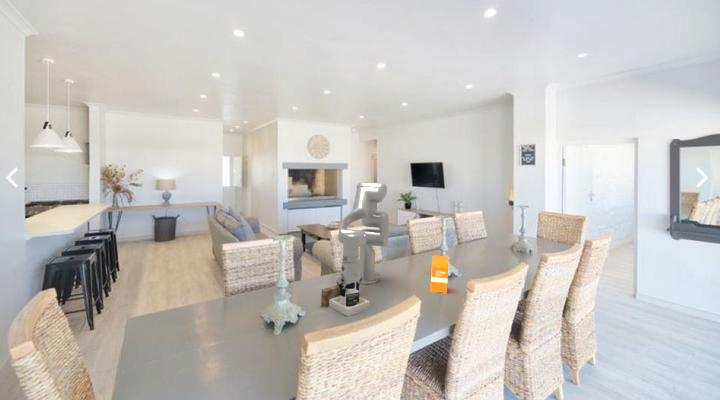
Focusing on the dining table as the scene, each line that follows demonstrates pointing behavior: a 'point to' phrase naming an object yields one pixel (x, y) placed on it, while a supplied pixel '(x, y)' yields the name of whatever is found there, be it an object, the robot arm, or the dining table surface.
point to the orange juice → (439, 274)
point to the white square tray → (349, 311)
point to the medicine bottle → (350, 296)
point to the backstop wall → (329, 294)
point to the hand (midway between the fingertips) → (349, 293)
